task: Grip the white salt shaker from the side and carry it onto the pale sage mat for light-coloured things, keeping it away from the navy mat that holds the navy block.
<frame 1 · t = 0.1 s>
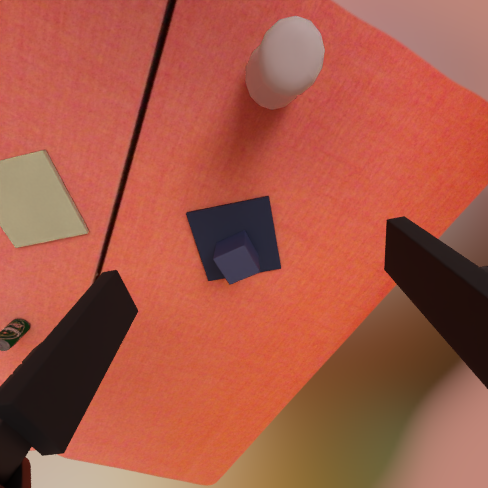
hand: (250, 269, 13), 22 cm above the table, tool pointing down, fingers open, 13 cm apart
dark mat: (236, 240, 36), on the table
navy block: (237, 249, 36), point 1 cm above the table, touching dark mat
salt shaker: (272, 78, 28), on the table
beer can: (22, 323, 44), on the table
light mat: (31, 202, 34), on the table
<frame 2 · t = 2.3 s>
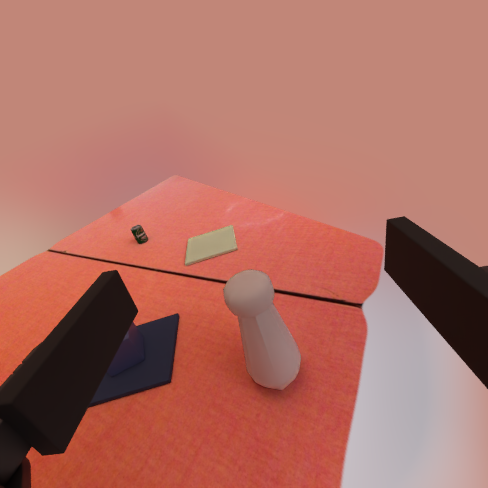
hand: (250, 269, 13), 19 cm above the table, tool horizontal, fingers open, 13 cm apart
dark mat: (137, 356, 35), on the table
navy block: (128, 355, 35), point 1 cm above the table, touching dark mat
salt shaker: (277, 372, 28), on the table
beer can: (143, 241, 70), on the table
light mat: (211, 244, 57), on the table
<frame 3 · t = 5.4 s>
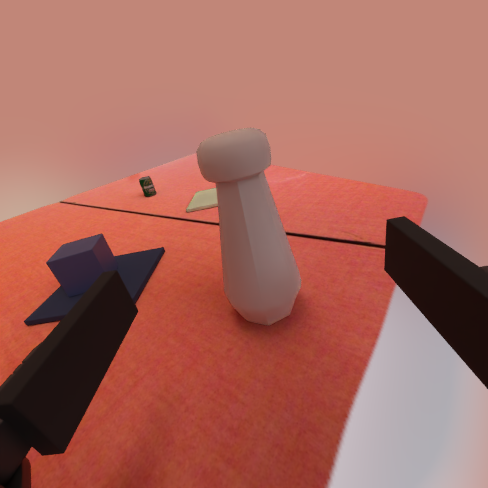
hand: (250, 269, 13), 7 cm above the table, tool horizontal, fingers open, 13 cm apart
dark mat: (106, 283, 30), on the table
navy block: (95, 280, 29), point 1 cm above the table, touching dark mat
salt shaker: (267, 307, 21), on the table
beer can: (151, 195, 65), on the table
light mat: (219, 197, 51), on the table
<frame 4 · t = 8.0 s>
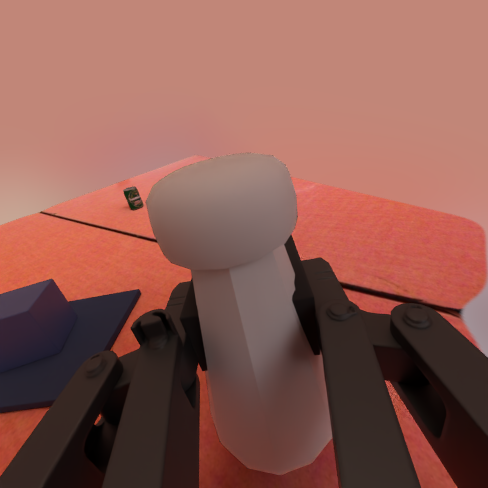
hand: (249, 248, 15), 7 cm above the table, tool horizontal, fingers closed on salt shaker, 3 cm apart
dark mat: (57, 345, 22), on the table
navy block: (43, 342, 22), point 1 cm above the table, touching dark mat
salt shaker: (280, 424, 13), on the table, touching gripper
beer can: (137, 208, 57), on the table
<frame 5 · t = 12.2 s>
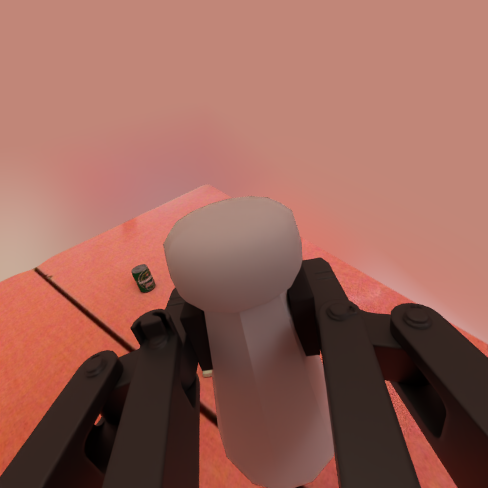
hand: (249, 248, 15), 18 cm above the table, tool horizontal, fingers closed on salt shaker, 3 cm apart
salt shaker: (283, 438, 14), point 9 cm above the table, touching gripper
beer can: (148, 288, 47), on the table
when the fingers open (10 cm above the table, at t = 16.7 s): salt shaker stays where it is, resting on light mat.
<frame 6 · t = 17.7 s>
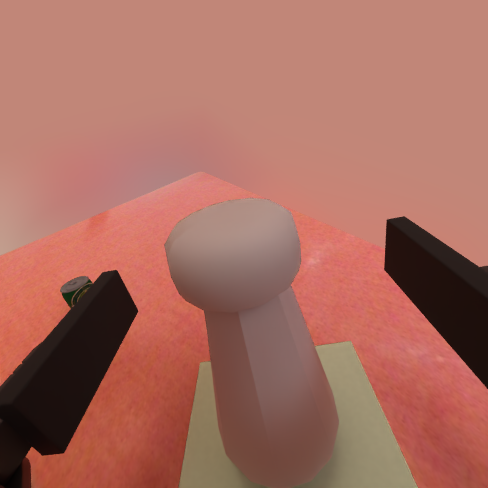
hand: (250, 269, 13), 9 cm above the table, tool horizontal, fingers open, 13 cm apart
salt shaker: (283, 438, 14), resting on light mat
beer can: (95, 316, 28), on the table
light mat: (284, 443, 14), on the table
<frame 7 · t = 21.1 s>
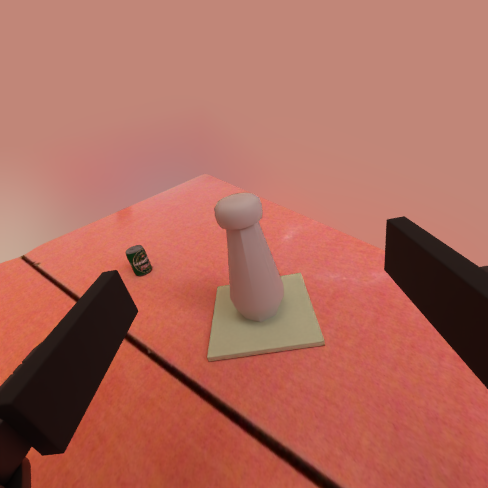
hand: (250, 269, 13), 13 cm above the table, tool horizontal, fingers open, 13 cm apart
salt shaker: (261, 309, 29), resting on light mat
beer can: (144, 272, 43), on the table
light mat: (261, 312, 29), on the table
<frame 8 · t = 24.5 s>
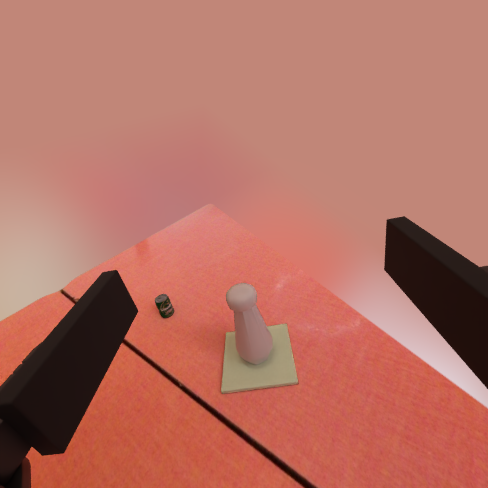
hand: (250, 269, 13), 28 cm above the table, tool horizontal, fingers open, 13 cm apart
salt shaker: (257, 354, 41), resting on light mat
beer can: (168, 314, 56), on the table
light mat: (257, 356, 42), on the table
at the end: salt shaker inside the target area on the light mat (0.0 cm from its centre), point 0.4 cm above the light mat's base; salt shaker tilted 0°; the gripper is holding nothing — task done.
